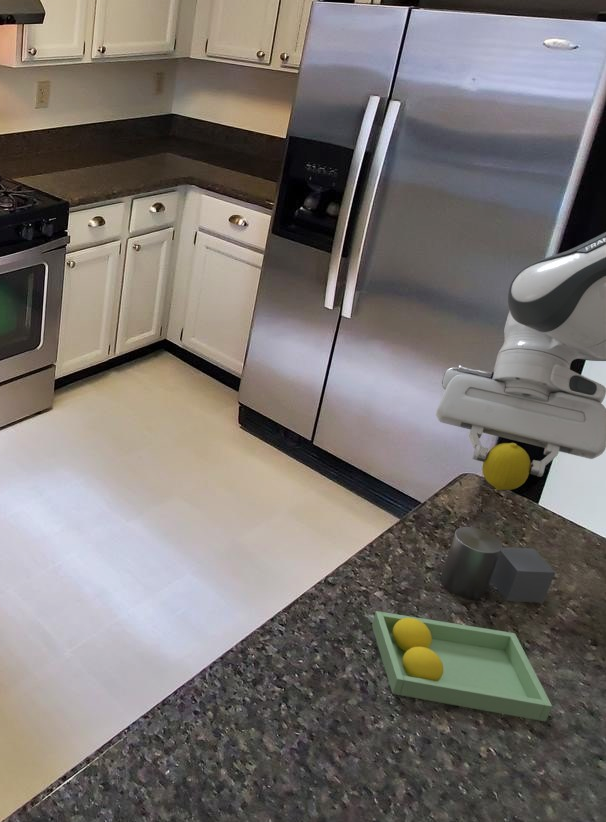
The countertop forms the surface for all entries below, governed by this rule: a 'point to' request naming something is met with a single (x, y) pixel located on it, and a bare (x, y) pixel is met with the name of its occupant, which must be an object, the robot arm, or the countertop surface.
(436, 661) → the small lemon
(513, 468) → the lemon
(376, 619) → the tray
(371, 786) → the countertop surface
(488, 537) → the grey tin
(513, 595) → the grey block
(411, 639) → the small lemon
